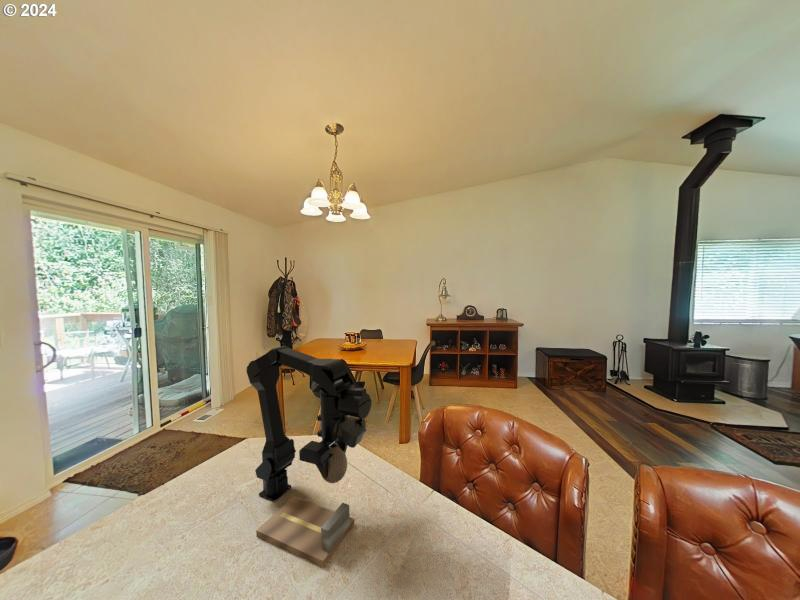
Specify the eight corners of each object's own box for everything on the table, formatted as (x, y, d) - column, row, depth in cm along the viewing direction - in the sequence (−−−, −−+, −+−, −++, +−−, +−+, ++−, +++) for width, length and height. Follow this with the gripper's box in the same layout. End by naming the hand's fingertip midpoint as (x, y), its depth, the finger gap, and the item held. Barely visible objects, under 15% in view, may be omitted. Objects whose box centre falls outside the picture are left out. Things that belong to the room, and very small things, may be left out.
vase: (342, 488, 70) (341, 454, 69) (315, 486, 70) (314, 452, 70) (351, 470, 76) (350, 438, 76) (326, 468, 77) (325, 437, 77)
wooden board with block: (256, 536, 68) (255, 510, 68) (293, 501, 79) (292, 479, 79) (323, 567, 60) (322, 538, 60) (354, 524, 71) (353, 499, 71)
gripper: (337, 433, 61) (339, 503, 62) (376, 401, 78) (377, 456, 79) (296, 424, 65) (298, 490, 66) (342, 396, 82) (343, 448, 83)
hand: (333, 469), depth 73 cm, fingers closed on vase, 6 cm apart
